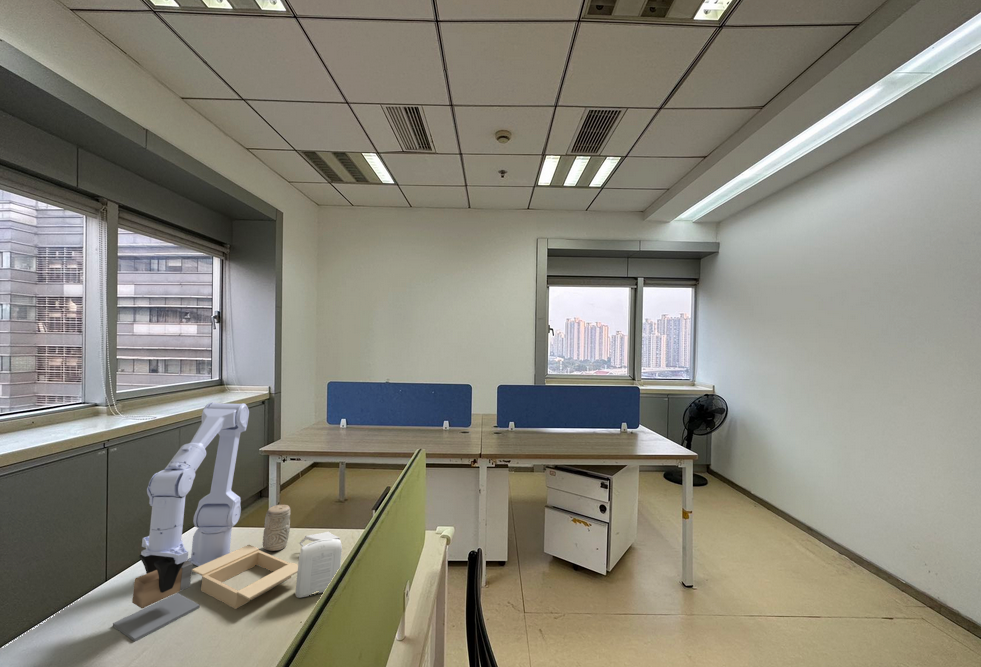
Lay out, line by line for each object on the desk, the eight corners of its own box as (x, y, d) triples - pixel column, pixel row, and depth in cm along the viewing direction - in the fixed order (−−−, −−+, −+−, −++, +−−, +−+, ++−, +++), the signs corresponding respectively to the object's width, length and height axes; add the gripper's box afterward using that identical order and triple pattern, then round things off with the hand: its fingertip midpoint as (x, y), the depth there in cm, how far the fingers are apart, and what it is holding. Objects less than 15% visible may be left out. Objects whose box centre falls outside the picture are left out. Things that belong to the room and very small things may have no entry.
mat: (112, 626, 82) (112, 623, 82) (177, 595, 93) (177, 592, 93) (134, 641, 78) (134, 638, 78) (199, 607, 89) (199, 605, 89)
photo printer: (337, 580, 103) (340, 532, 103) (340, 588, 99) (344, 539, 100) (294, 591, 97) (298, 541, 98) (296, 601, 94) (300, 548, 94)
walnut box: (131, 602, 83) (134, 577, 83) (179, 581, 91) (182, 558, 92) (142, 608, 81) (145, 583, 82) (190, 586, 90) (192, 563, 90)
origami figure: (342, 543, 122) (343, 527, 122) (339, 557, 114) (340, 540, 114) (300, 546, 119) (301, 530, 119) (294, 561, 111) (296, 543, 111)
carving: (293, 544, 120) (296, 504, 120) (274, 556, 112) (277, 514, 113) (276, 540, 121) (280, 501, 122) (256, 552, 114) (260, 510, 115)
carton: (190, 585, 97) (192, 569, 97) (247, 558, 110) (249, 544, 111) (247, 615, 88) (249, 597, 88) (302, 582, 101) (304, 567, 101)
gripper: (127, 523, 86) (121, 586, 85) (163, 540, 80) (156, 607, 79) (165, 512, 93) (159, 570, 92) (200, 527, 86) (195, 589, 86)
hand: (160, 586), depth 86 cm, fingers closed on walnut box, 4 cm apart
